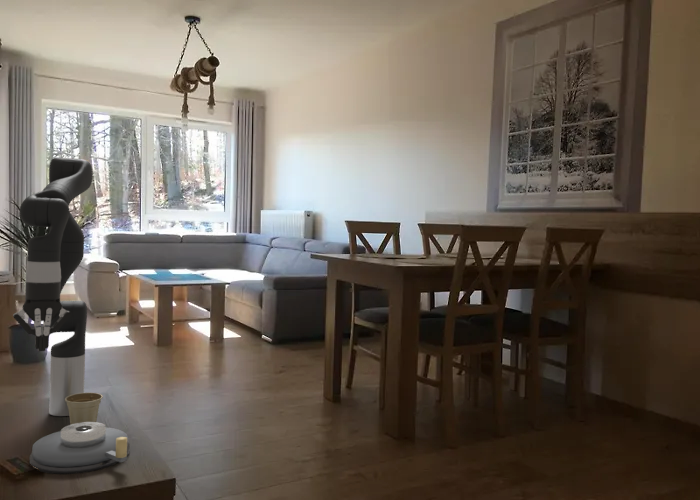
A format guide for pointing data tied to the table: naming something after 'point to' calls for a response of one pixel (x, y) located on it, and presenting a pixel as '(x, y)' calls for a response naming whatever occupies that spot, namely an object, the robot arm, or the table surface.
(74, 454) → the turntable
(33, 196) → the robot arm
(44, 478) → the table surface
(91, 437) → the cover
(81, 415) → the flower pot
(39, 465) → the turntable base
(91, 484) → the table surface
